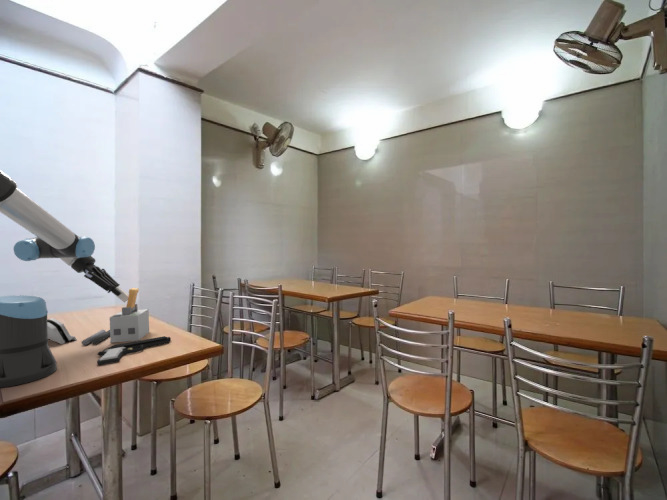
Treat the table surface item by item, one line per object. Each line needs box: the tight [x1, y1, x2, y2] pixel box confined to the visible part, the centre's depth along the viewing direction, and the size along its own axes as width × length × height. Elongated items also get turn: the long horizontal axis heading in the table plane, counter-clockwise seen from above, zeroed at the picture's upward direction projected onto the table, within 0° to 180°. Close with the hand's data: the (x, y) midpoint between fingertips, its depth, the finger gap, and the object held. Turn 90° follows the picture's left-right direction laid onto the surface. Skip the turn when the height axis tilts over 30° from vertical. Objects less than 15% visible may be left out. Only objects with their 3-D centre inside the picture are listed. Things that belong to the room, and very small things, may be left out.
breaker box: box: [109, 303, 150, 344], centre depth 128 cm, size 10×12×13 cm
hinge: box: [47, 317, 78, 345], centre depth 126 cm, size 17×5×10 cm, turn 59°
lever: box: [125, 287, 140, 312], centre depth 128 cm, size 2×5×10 cm, turn 14°
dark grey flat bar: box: [81, 329, 110, 346], centre depth 126 cm, size 5×14×2 cm, turn 14°
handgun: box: [96, 335, 171, 366], centre depth 111 cm, size 3×23×15 cm
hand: (127, 299), depth 129 cm, fingers closed
